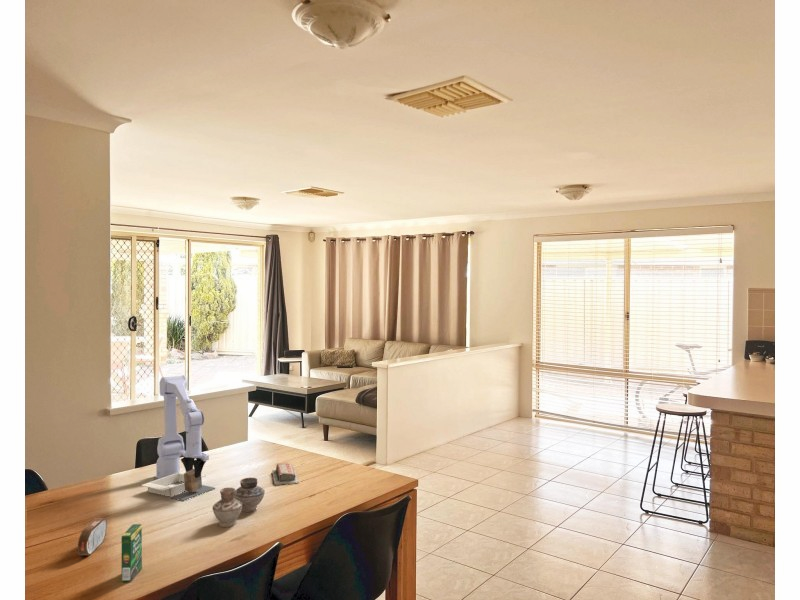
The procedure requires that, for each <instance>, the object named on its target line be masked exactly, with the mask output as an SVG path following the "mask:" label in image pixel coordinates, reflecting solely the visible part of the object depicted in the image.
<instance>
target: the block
mask: <svg viewBox="0 0 800 600" xmlns="http://www.w3.org/2000/svg"><path fill="white" fill-rule="evenodd" d="M184 484H185V492H186V491H189V492H194V491H196V490H198V489H200V488H202V485H203V482H202V478H201V476H200V477H198V478H195V471H194V468H193V469H192V470H190V471H188V472H186V473H184Z"/></svg>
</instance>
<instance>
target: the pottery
mask: <svg viewBox="0 0 800 600" xmlns="http://www.w3.org/2000/svg"><path fill="white" fill-rule="evenodd" d="M239 483H240V486H239V487H237V488H235V487H223V488H221V489H220V490H219V492H220V499H219V500H218V501H217V502H216V503H214V504H213V505H212V512H213V514H214V516H215V518H216V519H217V520H218V521H219V524H218V525H219V527H222V528H228V527H229V528H231V527H233V526H235V525H237V519H238V518H239V517H240V514H241V513H242V512H245V511H250V512H254V511H256V510H257V509H258V505H259V504H260V503H261V502H262V500H263V499H264V496H265V492H266V491H265V489H264V488H262V487H260V485H259V486H258V478H256V477H244V478H243V479H242V478H241V479H240V481H239ZM256 508H257V509H256ZM255 509H256V510H255ZM253 510H254V511H253Z"/></svg>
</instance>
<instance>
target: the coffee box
mask: <svg viewBox="0 0 800 600" xmlns="http://www.w3.org/2000/svg"><path fill="white" fill-rule="evenodd" d="M142 529H143V524H141V523H136V524H135V523H134V524H131V525H130V527H129V528H128V529H127V530H126V531H125V532H124V533H123V535H121V582H122V583H132V581H133V580H134V579H135V577H136V576H137V575H138V574H139V573H140V571H141V570H142V569H143V554H142V553H143V550H142V549H143V543H142V542H143V540H142V539H143V538H142V537H143V530H142Z"/></svg>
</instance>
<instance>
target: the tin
mask: <svg viewBox="0 0 800 600" xmlns="http://www.w3.org/2000/svg"><path fill="white" fill-rule="evenodd" d="M107 523H108V521H107V519H106V518H104V517H95V518H93V520H92V521H90V523H88V524H87V525H85V526H84V527H83V529H82V531H81V532H80V534H79V537H78V541H77V554H78V555H79V556H87V557H88V556H91V555H92V554H93V553H94V552H95V551H96V550H97V549H98V548H99V547H100V546H101V545H102V544H103V543H104V541H105V538H106V536H107V528H108V527H107V525H108V524H107Z"/></svg>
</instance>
